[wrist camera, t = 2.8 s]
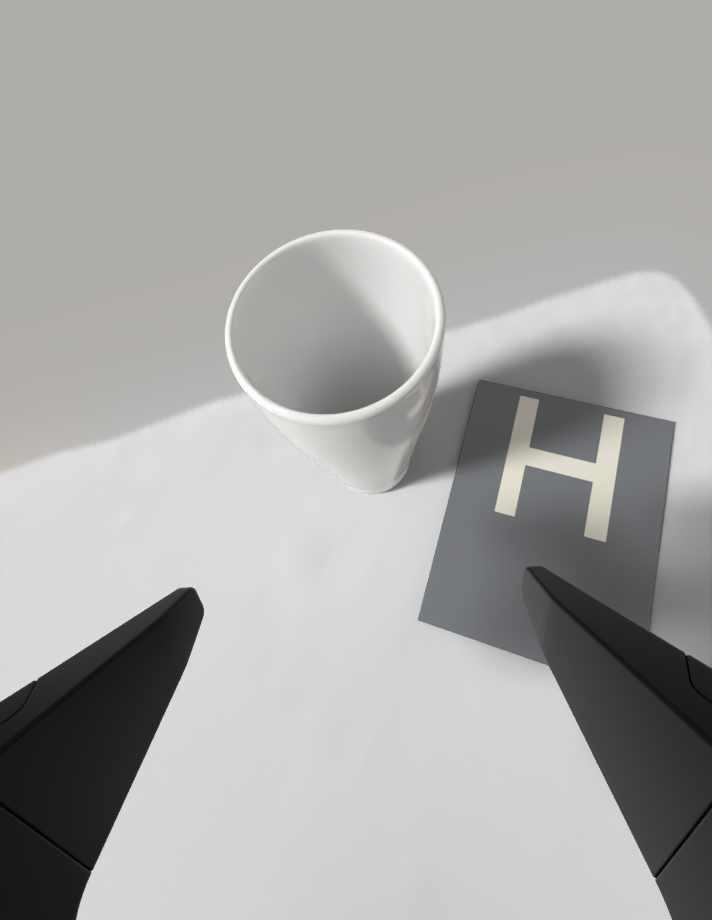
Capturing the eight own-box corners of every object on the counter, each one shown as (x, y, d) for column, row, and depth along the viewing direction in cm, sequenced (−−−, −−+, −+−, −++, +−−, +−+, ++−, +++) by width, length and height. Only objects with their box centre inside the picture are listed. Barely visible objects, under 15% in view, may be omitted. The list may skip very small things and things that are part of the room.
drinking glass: (388, 527, 24) (370, 471, 10) (302, 475, 26) (175, 359, 11) (439, 439, 25) (492, 272, 11) (354, 394, 27) (300, 196, 12)
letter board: (637, 695, 20) (641, 697, 20) (418, 619, 22) (418, 620, 22) (670, 424, 24) (674, 422, 23) (478, 381, 26) (479, 379, 26)
